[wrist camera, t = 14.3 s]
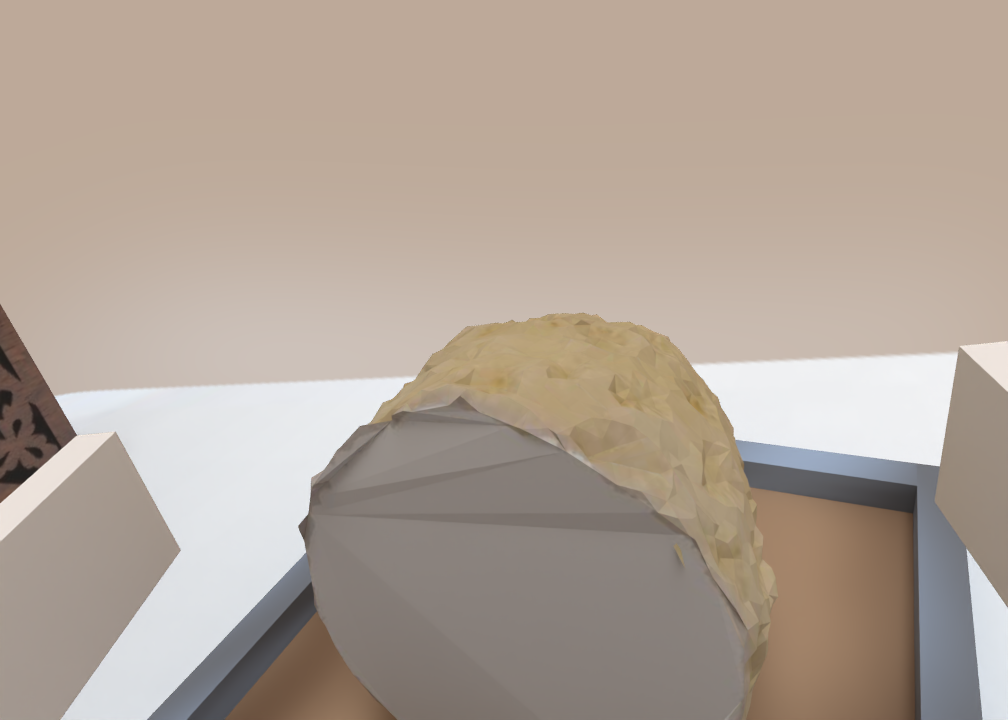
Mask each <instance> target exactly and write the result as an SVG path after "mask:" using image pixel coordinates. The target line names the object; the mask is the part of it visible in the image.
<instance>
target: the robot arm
mask: <svg viewBox="0 0 1008 720" xmlns="http://www.w3.org/2000/svg"><path fill="white" fill-rule="evenodd" d="M935 503H936V504H937V506H938V507H939V509H940V510H941V512H942V513H943V515H944V516H945V517H946V519H947V520H948V522H949V523H950V525H951V526H952V528H953V529H954V530H955V532H956V533H957V535H958V536H959V538H960V539H961V541H962V542H963V543H964V545H965V546H966V548H967V549H968V551H969V552H970V554H971V555H972V557H973V558H974V559H975V561H976V562H977V564H978V565H979V567H980V568H981V570H982V571H983V572H984V574H985V575H986V577H987V578H988V580H989V581H990V583H991V584H992V586H993V587H994V588H995V590H996V591H997V593H998V594H999V596H1000V597H1001V599H1002V600H1003V601H1004V603H1005V604H1006V606H1007V607H1008V341H1006V342H995V343H985V344H976V345H966V346H959V351H958V358H957V364H956V370H955V376H954V382H953V389H952V395H951V401H950V407H949V414H948V420H947V426H946V432H945V438H944V445H943V451H942V457H941V463H940V470H939V476H938V482H937V488H936V494H935ZM180 551H181V550H180V548H179V546H178V544H177V543H176V541H175V539H174V537H173V535H172V534H171V532H170V530H169V528H168V526H167V524H166V523H165V521H164V519H163V517H162V515H161V514H160V512H159V510H158V508H157V506H156V504H155V503H154V501H153V499H152V497H151V495H150V493H149V492H148V490H147V488H146V486H145V484H144V483H143V481H142V479H141V477H140V475H139V473H138V472H137V470H136V468H135V466H134V464H133V463H132V461H131V459H130V457H129V455H128V453H127V452H126V450H125V448H124V446H123V444H122V443H121V441H120V439H119V437H118V435H117V433H116V432H108V433H98V434H88V435H78V436H76V437H75V438H73V439H72V440H71V441H70V442H69V443H68V444H67V445H66V446H64V447H63V448H62V449H61V450H60V451H59V452H58V453H57V454H55V455H54V456H53V457H52V458H51V459H50V460H49V461H48V462H46V463H45V464H44V465H43V466H42V467H41V468H40V469H38V470H37V471H36V472H35V473H34V474H33V475H32V476H31V477H29V478H28V479H27V480H26V481H25V482H24V483H23V484H22V485H20V486H19V487H18V488H17V489H16V490H15V491H14V492H13V493H11V494H10V495H9V496H8V497H7V498H6V499H5V500H4V501H2V502H1V503H0V720H60V719H61V718H62V717H63V715H64V714H65V712H66V711H67V709H68V708H69V707H70V705H71V704H72V702H73V701H74V700H75V698H76V697H77V695H78V694H79V693H80V691H81V690H82V688H83V687H84V686H85V684H86V683H87V681H88V680H89V679H90V677H91V676H92V674H93V673H94V672H95V670H96V669H97V667H98V666H99V665H100V663H101V662H102V660H103V659H104V657H105V656H106V655H107V653H108V652H109V650H110V649H111V648H112V646H113V645H114V643H115V642H116V641H117V639H118V638H119V636H120V635H121V634H122V632H123V631H124V629H125V628H126V627H127V625H128V624H129V622H130V621H131V620H132V618H133V617H134V615H135V614H136V612H137V611H138V610H139V608H140V607H141V605H142V604H143V603H144V601H145V600H146V598H147V597H148V596H149V594H150V593H151V591H152V590H153V589H154V587H155V586H156V584H157V583H158V582H159V580H160V579H161V577H162V576H163V575H164V573H165V572H166V570H167V569H168V568H169V566H170V565H171V563H172V562H173V560H174V559H175V558H176V556H177V555H178V553H179V552H180Z"/></svg>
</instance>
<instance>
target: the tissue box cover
mask: <svg viewBox="0 0 1008 720" xmlns="http://www.w3.org/2000/svg"><path fill="white" fill-rule="evenodd" d="M76 436H77V435H76V433H75V431H74V430H73V428H72V426H71V424H70V423H69V421H68V419H67V418H66V416H65V414H64V412H63V411H62V409H61V407H60V406H59V404H58V402H57V400H56V399H55V397H54V395H53V394H52V392H51V390H50V388H49V387H48V385H47V383H46V382H45V380H44V378H43V376H42V375H41V373H40V371H39V370H38V368H37V366H36V365H35V363H34V361H33V359H32V358H31V356H30V354H29V353H28V351H27V349H26V347H25V346H24V344H23V342H22V341H21V339H20V337H19V336H18V334H17V332H16V330H15V329H14V327H13V325H12V323H11V322H10V320H9V318H8V317H7V315H6V313H5V311H4V310H3V308H2V306H1V305H0V503H1V502H2V501H4V500H5V499H6V498H7V497H8V496H9V495H10V494H11V493H13V492H14V491H15V490H16V489H17V488H18V487H19V486H20V485H22V484H23V483H24V482H25V481H26V480H27V479H28V478H29V477H31V476H32V475H33V474H34V473H35V472H36V471H37V470H38V469H40V468H41V467H42V466H43V465H44V464H45V463H46V462H48V461H49V460H50V459H51V458H52V457H53V456H54V455H55V454H57V453H58V452H59V451H60V450H61V449H62V448H63V447H64V446H66V445H67V444H68V443H69V442H70V441H71V440H72V439H73V438H75V437H76Z"/></svg>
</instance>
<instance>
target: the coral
mask: <svg viewBox="0 0 1008 720" xmlns="http://www.w3.org/2000/svg"><path fill="white" fill-rule="evenodd" d="M733 433H734V428H733V427H732V425H731V423H730V421H729V419H728V417H727V415H726V414H725V413H724V411H723V410H722V408H721V406H720V402H719V399H718V397H717V396H716V395H715V394H713V393H712V392H711V390H710V389H709V388H708V386H707V385H706V383H705V382H704V380H703V379H702V378H701V377H700V376H699V375H698V374H697V373H696V372H695V370H694V369H693V367H692V366H691V365H690V363H689V362H688V360H687V359H686V358H685V357H684V355H683V354H682V353H681V351H680V350H679V349H678V348H677V347H676V346H675V345H674V344H672V343H671V342H670V340H669V337H667V336H664V335H662V334H659V333H656V332H653V331H651V330H649V329H647V328H646V327H644V326H642V325H635V324H633V323H631V322H611V323H607V322H605V321H604V320H603V319H602V318H601V317H599V316H598V315H597V314H596V315H592V316H591V315H588V314H585V313H578V314H566V313H565V314H564V313H562V314H548V315H546V316H543V317H541V318H530V319H529V320H528V321H526V322H514V321H513V320H511V321H509V322H506V323H503V324H502V323H492V324H485V325H478V326H467V327H466V328H465V329H464V330H462V331H461V332H460V333H459V334H458V335H457V336H456V337H454V338H453V339H452V340H451V341H450V342H449V343H448V344H447V345H446V346H445V347H444V349H442V350H440V351H438V352H436V353H434V354H432V356H431V357H430V359H429V360H428V361H427V363H426V364H425V365H424V367H423V368H422V370H421V372H420V373H419V374H418V376H417V378H416V379H415V380H414V381H412V382H410V383H406V384H404V387H403V389H401V391H400V392H399V393H398V394H397V395H396V396H395V397H394V398H393V399H391V400H389V401H386V402H383V403H382V405H381V407H380V408H379V410H378V412H377V413H376V415H375V417H374V418H373V420H372V421H371V422H370V423H369V424H368V425H363V426H360V427H359V428H358V429H357V430H356V431H355V432H354V433H353V434H352V435H351V437H350V438H349V439H348V440H347V441H346V442H345V443H344V444H343V445H342V446H341V447H340V448H339V449H338V450H337V451H336V453H335V454H334V456H333V458H332V459H331V461H330V462H329V464H328V465H327V467H326V468H325V469H324V470H323V471H322V472H320V473H319V474H317V475H315V476H314V477H312V478H311V497H310V505H309V513H308V515H307V516H306V517H305V519H304V520H303V521H302V522H301V523H300V525H299V526H298V527H299V530H300V533H301V535H302V537H303V539H304V542H305V548H306V553H307V559H308V564H309V570H310V575H311V580H312V586H313V591H314V605H315V608H316V610H317V612H318V614H319V616H320V619H321V620H322V622H323V623H324V624H325V626H326V628H327V630H328V632H329V634H330V636H331V639H332V641H333V643H334V645H335V647H336V649H337V650H338V652H339V654H340V655H341V657H342V658H343V660H344V661H345V663H346V664H347V666H348V668H349V669H350V671H351V672H352V674H353V675H354V676H355V677H356V678H357V679H358V680H359V681H360V682H361V684H362V685H363V686H364V687H365V688H366V689H367V691H368V692H369V693H370V695H371V696H372V697H373V699H374V700H375V701H376V702H378V703H379V704H381V705H382V706H384V707H385V708H386V709H387V710H388V711H389V712H390V713H391V714H392V715H393V716H394V717H395V718H396V719H397V720H746V718H747V714H748V711H749V708H750V704H751V697H752V691H753V688H754V686H755V683H756V681H757V678H758V676H759V673H760V671H761V668H762V666H763V663H764V660H765V659H766V655H767V652H768V632H769V628H770V624H771V619H770V613H771V609H772V605H773V604H774V603H775V601H776V600H777V598H778V591H777V584H776V577H775V574H774V572H773V570H772V568H771V567H770V566H769V565H768V564H767V563H766V562H765V561H764V560H763V559H762V548H763V535H762V534H761V532H760V531H759V529H758V528H757V527H756V518H757V504H756V503H755V501H754V500H753V498H752V494H751V490H750V486H749V483H748V479H747V477H746V475H745V473H744V462H743V460H742V458H741V455H740V453H739V450H738V448H737V445H736V442H735V438H734V436H733Z"/></svg>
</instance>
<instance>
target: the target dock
mask: <svg viewBox="0 0 1008 720" xmlns="http://www.w3.org/2000/svg"><path fill="white" fill-rule="evenodd" d="M735 442H736V445H737V448H738V450H739V453H740V455H741V458H742V460H743V462H744V473H745V475H746V477H747V479H748V483H749V486H750V490H751V494H752V498H753V500H754V501H755V503H756V504H757V518H756V527H757V528H758V529H759V531H760V532H761V534H762V535H763V548H762V559H763V560H764V561H765V562H766V563H767V564H768V565H769V566H770V567H771V568H772V570H773V572H774V574H775V577H776V584H777V591H778V598H777V600H776V601H775V603H774V604H773V605H772V609H771V613H770V619H771V624H770V628H769V632H768V652H767V655H766V659H765V660H764V663H763V666H762V668H761V671H760V673H759V676H758V678H757V681H756V683H755V686H754V688H753V691H752V697H751V704H750V708H749V711H748V714H747V718H746V720H982V711H981V700H980V689H979V679H978V668H977V657H976V647H975V636H974V626H973V615H972V604H971V594H970V583H969V572H968V562H967V551H966V546H965V545H964V543H963V542H962V541H961V539H960V538H959V536H958V535H957V533H956V532H955V530H954V529H953V528H952V526H951V525H950V523H949V522H948V520H947V519H946V517H945V516H944V515H943V513H942V512H941V510H940V509H939V507H938V506H937V504H936V503H935V494H936V488H937V482H938V476H939V470H940V467H939V466H931V465H923V464H916V463H908V462H900V461H893V460H885V459H877V458H870V457H862V456H854V455H847V454H839V453H831V452H824V451H816V450H808V449H801V448H793V447H785V446H778V445H770V444H762V443H755V442H747V441H739V440H735ZM147 720H397V719H396V718H395V717H394V716H393V715H392V714H391V713H390V712H389V711H388V710H387V709H386V708H385V707H384V706H382V705H381V704H379V703H378V702H376V701H375V700H374V699H373V697H372V696H371V695H370V693H369V692H368V691H367V689H366V688H365V687H364V686H363V685H362V684H361V682H360V681H359V680H358V679H357V678H356V677H355V676H354V675H353V674H352V672H351V671H350V669H349V668H348V666H347V664H346V663H345V661H344V660H343V658H342V657H341V655H340V654H339V652H338V650H337V649H336V647H335V645H334V643H333V641H332V639H331V636H330V634H329V632H328V630H327V628H326V626H325V624H324V623H323V622H322V620H321V619H320V616H319V614H318V612H317V610H316V608H315V605H314V591H313V586H312V580H311V575H310V570H309V564H308V559H307V553H305V554H304V555H303V557H302V558H301V559H300V560H299V561H298V562H297V563H296V564H295V565H294V566H293V567H292V568H291V569H290V570H289V571H288V572H287V573H286V574H285V575H284V576H283V578H282V579H281V580H280V581H279V582H278V583H277V584H276V585H275V586H274V587H273V588H272V589H271V590H270V591H269V592H268V593H267V594H266V595H265V596H264V597H263V599H262V600H261V601H260V602H259V603H258V604H257V605H256V606H255V607H254V608H253V609H252V610H251V611H250V612H249V613H248V614H247V615H246V616H245V617H244V618H243V620H242V621H241V622H240V623H239V624H238V625H237V626H236V627H235V628H234V629H233V630H232V631H231V632H230V633H229V634H228V635H227V636H226V637H225V638H224V640H223V641H222V642H221V643H220V644H219V645H218V646H217V647H216V648H215V649H214V650H213V651H212V652H211V653H210V654H209V655H208V656H207V657H206V658H205V659H204V661H203V662H202V663H201V664H200V665H199V666H198V667H197V668H196V669H195V670H194V671H193V672H192V673H191V674H190V675H189V676H188V677H187V678H186V679H185V680H184V682H183V683H182V684H181V685H180V686H179V687H178V688H177V689H176V690H175V691H174V692H173V693H172V694H171V695H170V696H169V697H168V698H167V699H166V700H165V701H164V703H163V704H162V705H161V706H160V707H159V708H158V709H157V710H156V711H155V712H154V713H153V714H152V715H151V716H150V717H149V718H148V719H147Z"/></svg>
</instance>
